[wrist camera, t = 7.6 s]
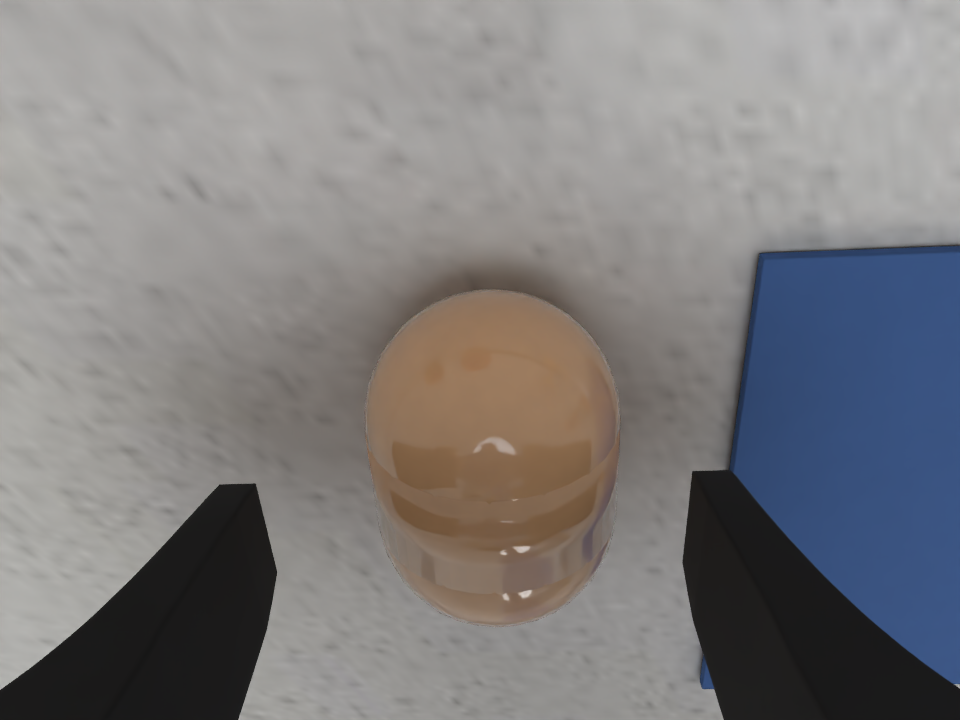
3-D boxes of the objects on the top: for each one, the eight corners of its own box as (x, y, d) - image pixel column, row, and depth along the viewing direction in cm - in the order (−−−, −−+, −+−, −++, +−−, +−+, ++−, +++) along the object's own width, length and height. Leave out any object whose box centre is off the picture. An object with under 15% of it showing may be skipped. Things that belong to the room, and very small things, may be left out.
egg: (578, 498, 19) (642, 658, 15) (383, 527, 18) (399, 700, 15) (584, 234, 16) (667, 358, 12) (344, 261, 15) (353, 400, 11)
